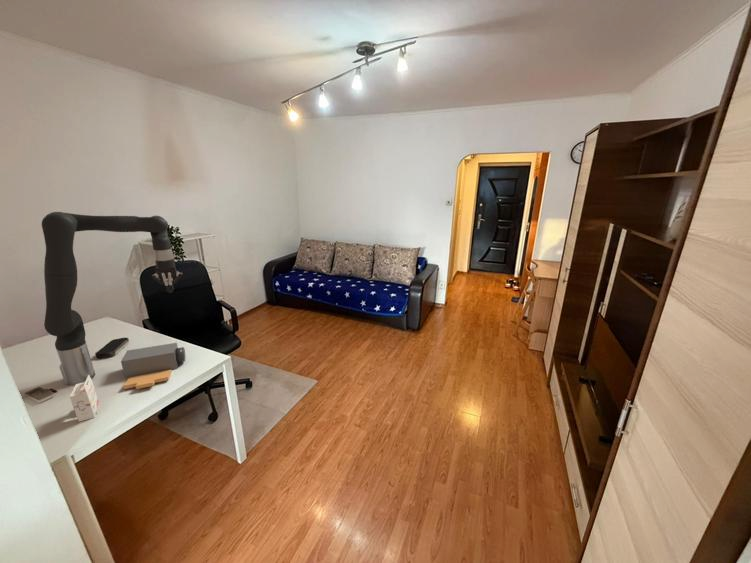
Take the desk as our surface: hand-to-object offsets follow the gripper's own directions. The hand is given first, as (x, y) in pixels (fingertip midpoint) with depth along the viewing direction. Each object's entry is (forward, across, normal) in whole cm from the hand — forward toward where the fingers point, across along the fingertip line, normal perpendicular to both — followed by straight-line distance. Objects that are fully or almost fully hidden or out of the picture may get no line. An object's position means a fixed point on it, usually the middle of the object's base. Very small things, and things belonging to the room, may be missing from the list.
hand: (170, 291), depth 147 cm
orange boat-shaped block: (+34, -10, -18) cm, 40 cm away
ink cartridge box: (+35, -27, -36) cm, 57 cm away
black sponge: (+36, -33, +16) cm, 51 cm away
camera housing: (+35, -9, -12) cm, 38 cm away
